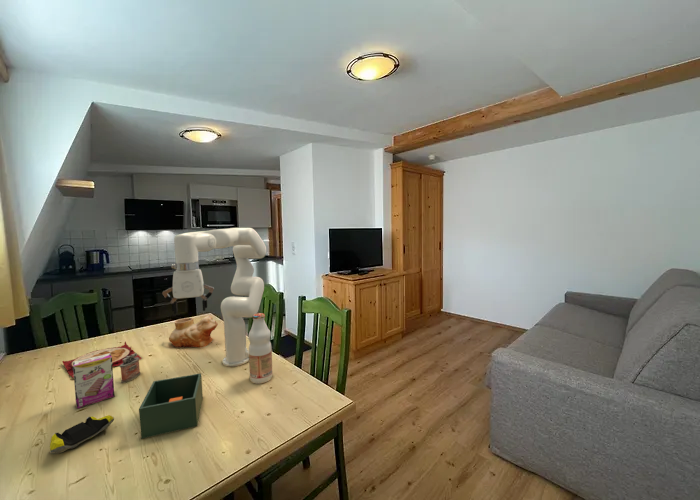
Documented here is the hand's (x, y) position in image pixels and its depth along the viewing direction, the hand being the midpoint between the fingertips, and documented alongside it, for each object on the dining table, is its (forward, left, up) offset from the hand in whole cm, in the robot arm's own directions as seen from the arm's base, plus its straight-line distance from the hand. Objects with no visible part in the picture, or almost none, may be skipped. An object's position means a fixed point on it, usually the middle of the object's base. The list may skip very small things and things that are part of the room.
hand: (190, 311), depth 114 cm
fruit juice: (-25, -3, -34) cm, 42 cm away
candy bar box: (+35, -10, -34) cm, 49 cm away
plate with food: (+46, -49, -34) cm, 75 cm away
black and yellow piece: (+30, +15, -34) cm, 47 cm away
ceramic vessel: (+7, -57, -34) cm, 66 cm away
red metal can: (+28, -25, -34) cm, 50 cm away
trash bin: (+5, +12, -33) cm, 36 cm away
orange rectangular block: (+5, +12, -32) cm, 35 cm away
